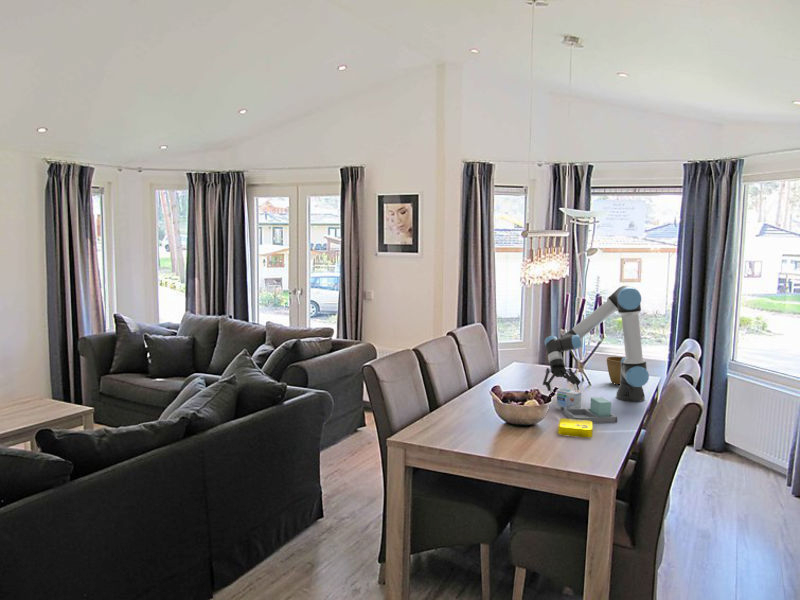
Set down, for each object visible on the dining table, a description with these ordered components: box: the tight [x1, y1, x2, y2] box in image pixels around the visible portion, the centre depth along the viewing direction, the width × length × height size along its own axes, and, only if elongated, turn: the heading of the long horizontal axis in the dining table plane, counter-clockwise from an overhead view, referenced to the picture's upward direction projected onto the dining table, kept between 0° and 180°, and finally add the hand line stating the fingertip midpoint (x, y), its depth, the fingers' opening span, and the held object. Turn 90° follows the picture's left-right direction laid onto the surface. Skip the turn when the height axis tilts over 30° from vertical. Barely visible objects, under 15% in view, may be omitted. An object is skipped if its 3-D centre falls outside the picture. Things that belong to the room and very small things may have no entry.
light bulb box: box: [556, 388, 582, 411], centre depth 317 cm, size 11×7×11 cm, turn 45°
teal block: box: [589, 396, 612, 417], centre depth 302 cm, size 6×10×9 cm, turn 6°
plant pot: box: [606, 356, 625, 385], centre depth 381 cm, size 15×15×16 cm
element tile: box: [557, 417, 594, 438], centre depth 282 cm, size 15×15×5 cm
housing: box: [562, 408, 618, 424], centre depth 302 cm, size 21×16×3 cm
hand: (565, 395), depth 319 cm, fingers open, 13 cm apart
